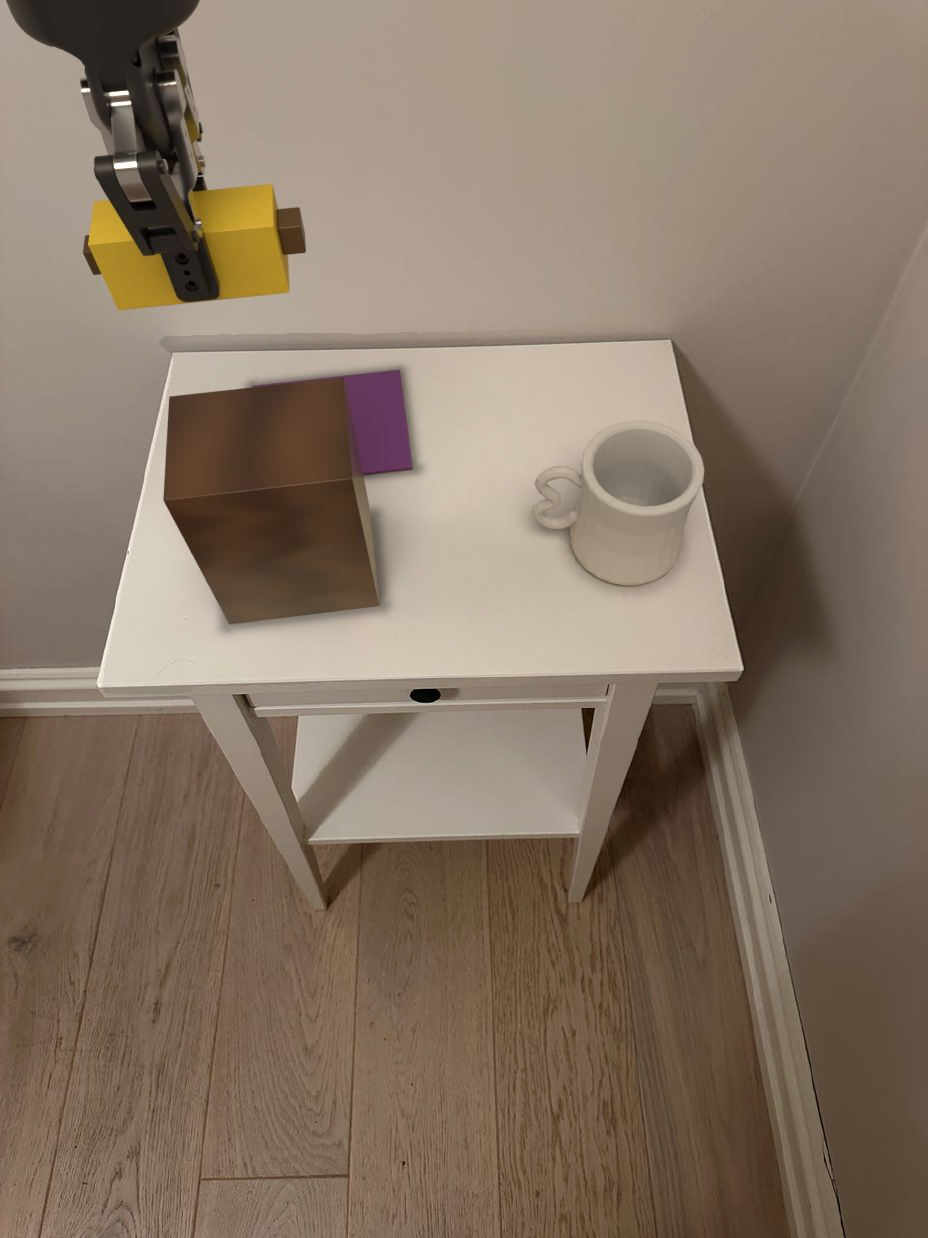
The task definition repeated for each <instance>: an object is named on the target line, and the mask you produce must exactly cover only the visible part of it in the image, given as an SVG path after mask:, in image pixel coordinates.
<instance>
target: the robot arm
mask: <svg viewBox="0 0 928 1238" xmlns="http://www.w3.org/2000/svg"><path fill="white" fill-rule="evenodd" d="M200 1H201V0H5V2H6V5H7V7H8V9H9V11H10V14H11V16H12V19H14V21H15V23H16V24H17V26H18V27H19V28H20V30H22V32H24V33H25V34H26V35H27V36H29V37H30V38H31V39H33V40H34V41H36V42H38V43H40V44H43V45H45V46H47V47H50V48H55V49H58V50H62V51H64V52H65V53H68V54H70V55H71V56H73V57H75V58H76V59H77V60H79V61H80V62H81V64H82V65H83V67H84V75H85V77H81V78H80V80H79V86H80V87H79V88H80V92H81V95H82V99H83V102H84V105H85V108H86V111H87V114H88V117H89V120H90V122H91V123H92V124H93V126H94V127H96V128H97V130H98V131H99V132H100V134H101V137H102V140H103V143H104V147H105V150H106V153H107V154H103V155H95V156H94V158H93V173H94V177H95V179H96V181H97V182H98V184H99V186H100V188H101V189H102V191H103V193H104V195H105V196H106V198H107V200H109V201H110V202H111V204H112V206H113V207H114V209H115V211H116V212H117V214H118V216H119V217H120V219H121V220H122V222H123V224H124V225H125V227H126V229H127V230H128V232H129V234H130V235H131V237H132V238H133V240H134V242H135V243H136V245H137V247H138V248H139V250H140V252H141V253H142V255H143V256H152V255H155V254H161V257H162V259H163V262H164V265H165V267H166V270H167V273H168V275H169V278H170V281H171V283H172V286H173V288H174V291H175V294H176V296H177V298H178V299H179V300H181V301H183V302H195V303H197V302H196V301H204V302H206V301H205V300H214V299H216V298H218V296H219V294H220V283H219V280H218V276H217V273H216V270H215V267H214V264H213V261H212V258H211V255H210V252H209V248H208V245H207V242H206V239H205V236H204V232H203V230H204V225H203V221H202V218H200V216H199V213H198V209H197V205H196V202H195V198H194V194H193V192H195V191H205V190H208V187H207V184H206V183H207V182H206V181H205V180H206V179H205V177H204V176H205V175H206V169H205V168H206V167H207V164H206V159H205V156H204V155H203V154H202V151H201V148H200V146H199V143H202V141H203V136H202V134H204V129H203V125H202V122H201V121H200V118H199V116H200V115H199V111H198V108H197V105H196V103H195V102H196V101H195V97H194V93H193V89H192V84H191V81H190V75H189V72H188V67H187V58H186V55H185V52H184V49H183V46H182V40H181V36H180V33H179V27H181V26H182V25H183V24H184V23H185V22H186V21H188V20H189V18H190V17H192V15H193V14H194V12H196V9H197V8H198V6H199V3H200ZM214 301H215V300H214Z"/></svg>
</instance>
